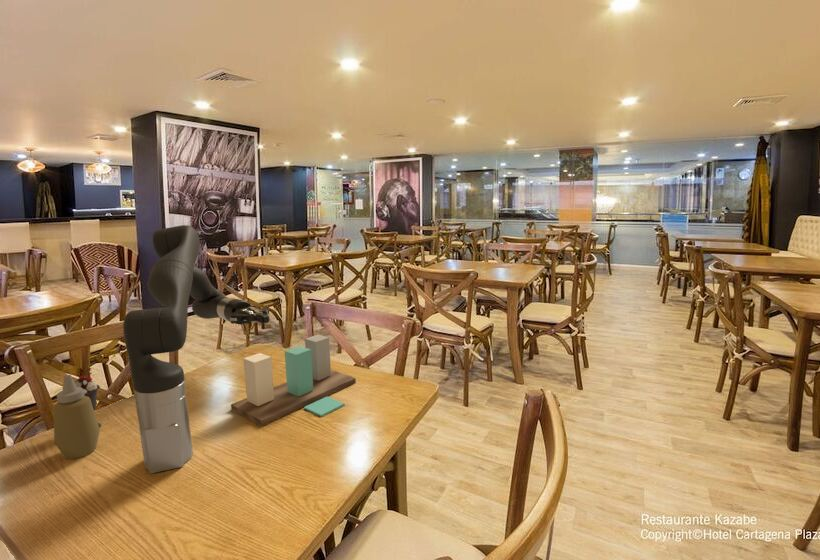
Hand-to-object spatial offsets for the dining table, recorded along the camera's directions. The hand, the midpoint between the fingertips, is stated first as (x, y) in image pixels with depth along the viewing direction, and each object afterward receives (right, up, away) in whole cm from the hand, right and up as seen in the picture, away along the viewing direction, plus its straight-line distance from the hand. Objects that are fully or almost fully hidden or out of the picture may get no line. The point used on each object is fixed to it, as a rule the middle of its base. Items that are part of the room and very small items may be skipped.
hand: (266, 319), depth 129 cm
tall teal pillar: (+11, -19, -5) cm, 23 cm away
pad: (+19, -22, -11) cm, 31 cm away
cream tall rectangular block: (+2, -21, -10) cm, 23 cm away
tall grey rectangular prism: (+14, -17, +5) cm, 23 cm away
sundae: (-37, -25, -20) cm, 49 cm away
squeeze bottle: (-32, -27, -30) cm, 51 cm away
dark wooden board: (+10, -21, -4) cm, 24 cm away
